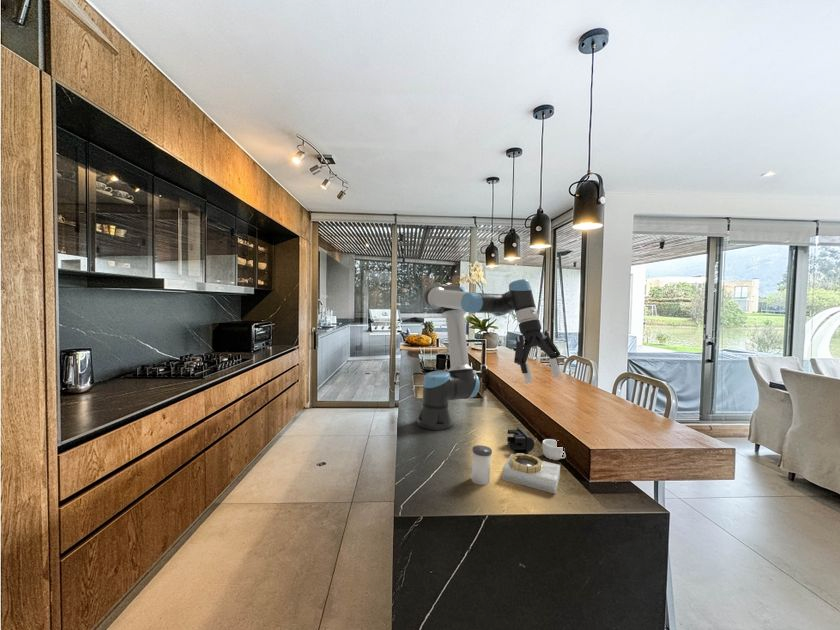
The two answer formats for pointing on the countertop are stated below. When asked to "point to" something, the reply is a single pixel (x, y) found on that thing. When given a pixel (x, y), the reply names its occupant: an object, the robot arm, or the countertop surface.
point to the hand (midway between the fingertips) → (543, 379)
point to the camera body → (532, 472)
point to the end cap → (520, 441)
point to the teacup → (552, 449)
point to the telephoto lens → (481, 464)
